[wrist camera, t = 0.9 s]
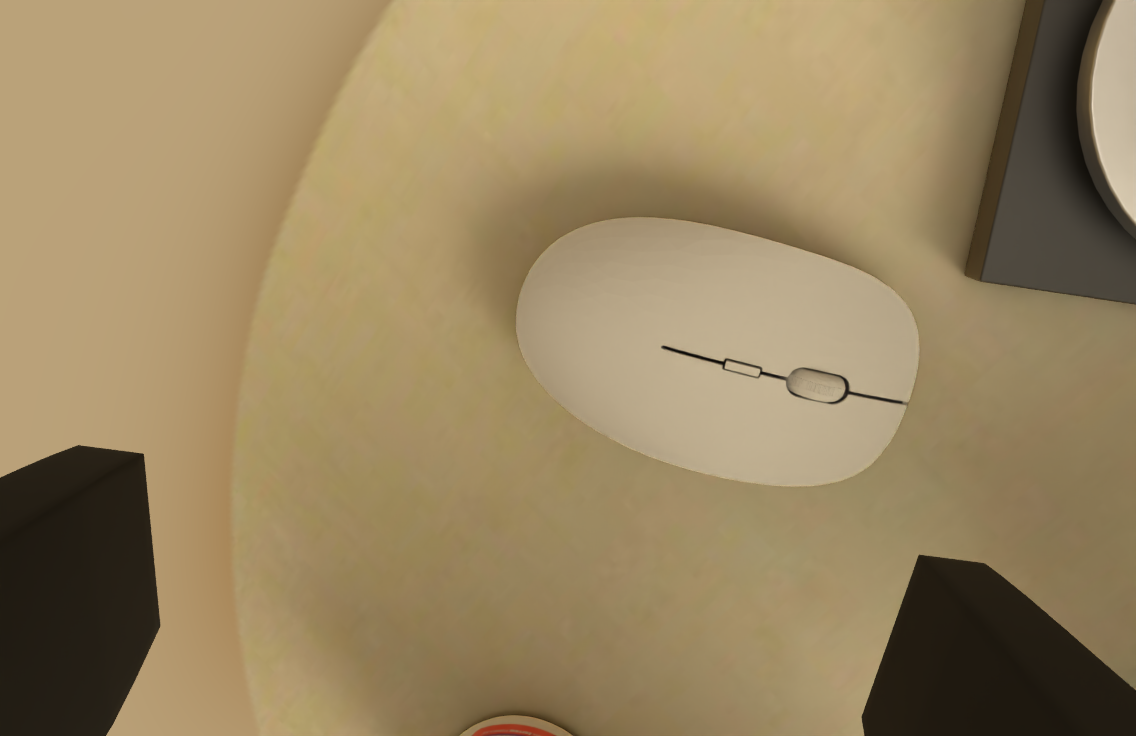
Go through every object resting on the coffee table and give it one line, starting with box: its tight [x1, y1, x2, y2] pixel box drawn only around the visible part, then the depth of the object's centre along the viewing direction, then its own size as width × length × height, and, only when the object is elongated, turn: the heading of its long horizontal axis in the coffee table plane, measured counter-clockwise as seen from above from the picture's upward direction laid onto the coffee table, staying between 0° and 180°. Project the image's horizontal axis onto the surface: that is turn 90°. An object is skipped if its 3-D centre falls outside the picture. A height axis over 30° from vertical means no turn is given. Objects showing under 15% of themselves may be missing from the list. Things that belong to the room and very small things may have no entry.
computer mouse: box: [516, 217, 920, 487], centre depth 23 cm, size 6×10×3 cm, turn 75°
